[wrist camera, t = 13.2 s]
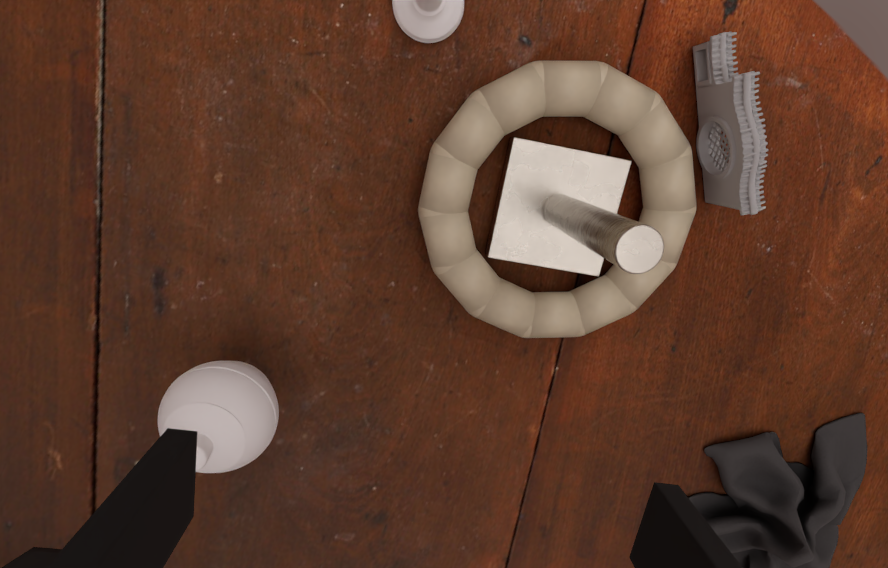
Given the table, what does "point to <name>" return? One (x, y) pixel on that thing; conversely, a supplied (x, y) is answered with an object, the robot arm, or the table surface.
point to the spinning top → (222, 413)
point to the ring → (512, 107)
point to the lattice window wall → (728, 127)
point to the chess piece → (428, 18)
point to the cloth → (785, 496)
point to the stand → (567, 212)
